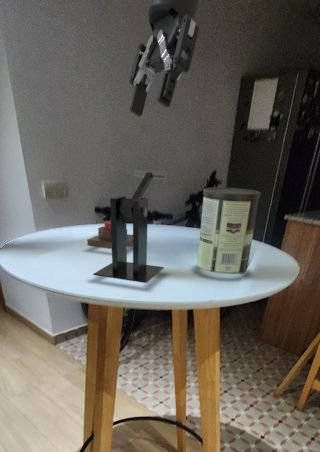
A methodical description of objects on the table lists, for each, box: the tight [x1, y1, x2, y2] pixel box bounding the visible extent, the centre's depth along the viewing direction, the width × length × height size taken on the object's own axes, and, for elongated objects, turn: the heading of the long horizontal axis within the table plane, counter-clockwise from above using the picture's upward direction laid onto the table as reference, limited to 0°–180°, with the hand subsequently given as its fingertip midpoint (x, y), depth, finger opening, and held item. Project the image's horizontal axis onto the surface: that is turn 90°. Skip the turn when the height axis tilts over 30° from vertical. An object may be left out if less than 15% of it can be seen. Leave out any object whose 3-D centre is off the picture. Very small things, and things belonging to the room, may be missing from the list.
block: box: [86, 225, 133, 250], centre depth 84 cm, size 8×10×4 cm
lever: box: [119, 169, 168, 224], centre depth 64 cm, size 13×6×2 cm, turn 162°
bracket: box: [92, 195, 164, 284], centre depth 64 cm, size 10×10×13 cm
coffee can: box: [196, 186, 262, 277], centre depth 70 cm, size 10×10×14 cm
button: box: [104, 220, 111, 231], centre depth 83 cm, size 4×4×2 cm
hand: (148, 109), depth 61 cm, fingers open, 8 cm apart
